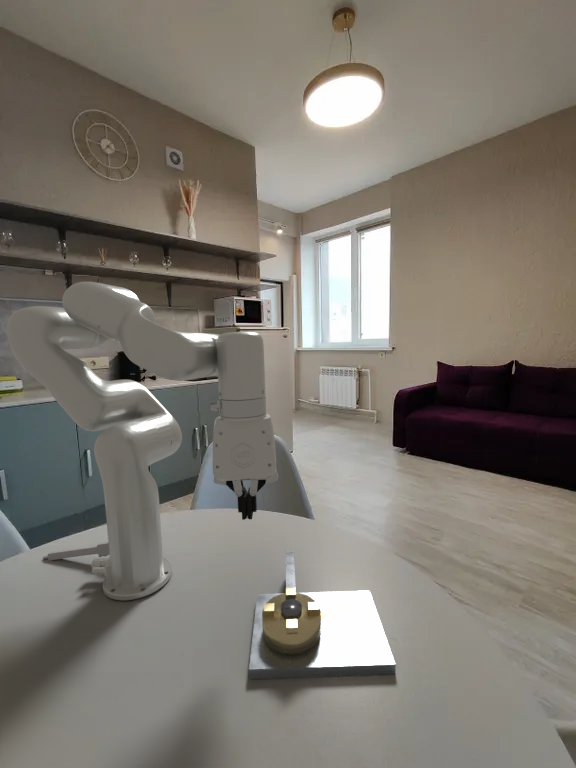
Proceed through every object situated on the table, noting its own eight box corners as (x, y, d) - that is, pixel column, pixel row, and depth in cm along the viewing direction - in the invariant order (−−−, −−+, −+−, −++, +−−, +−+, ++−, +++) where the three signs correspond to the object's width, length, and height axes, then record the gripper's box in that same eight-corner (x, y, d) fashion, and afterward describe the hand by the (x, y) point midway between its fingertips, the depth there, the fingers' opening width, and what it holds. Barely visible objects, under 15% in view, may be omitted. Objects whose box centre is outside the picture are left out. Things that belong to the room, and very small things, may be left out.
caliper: (130, 565, 77) (131, 534, 77) (127, 567, 76) (128, 536, 76) (46, 558, 80) (47, 529, 81) (42, 560, 79) (43, 530, 80)
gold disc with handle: (260, 655, 51) (259, 630, 51) (267, 567, 71) (266, 548, 71) (324, 652, 51) (323, 628, 51) (312, 565, 72) (312, 547, 71)
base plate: (249, 679, 49) (248, 668, 49) (257, 602, 64) (257, 593, 64) (395, 674, 49) (395, 663, 49) (369, 598, 64) (369, 589, 64)
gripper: (191, 414, 55) (198, 528, 57) (289, 410, 55) (292, 525, 57) (202, 406, 63) (208, 507, 65) (288, 403, 63) (291, 504, 65)
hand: (247, 515), depth 61 cm, fingers closed
